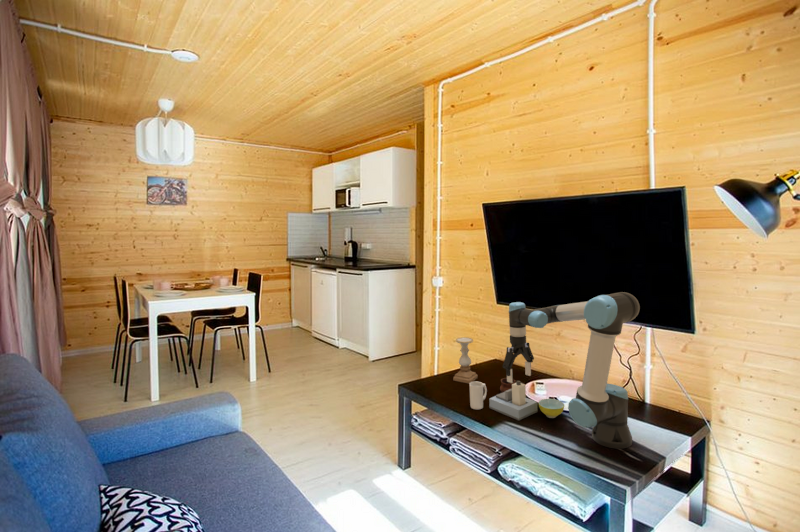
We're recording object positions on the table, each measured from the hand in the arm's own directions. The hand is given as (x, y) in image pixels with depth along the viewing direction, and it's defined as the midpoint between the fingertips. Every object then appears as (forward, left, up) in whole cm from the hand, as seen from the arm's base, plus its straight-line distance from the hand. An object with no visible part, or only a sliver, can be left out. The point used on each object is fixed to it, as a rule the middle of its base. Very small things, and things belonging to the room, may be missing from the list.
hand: (519, 378), depth 210 cm
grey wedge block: (+8, 0, -12) cm, 14 cm away
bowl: (-12, -8, -17) cm, 23 cm away
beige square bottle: (0, 0, -16) cm, 16 cm away
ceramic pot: (+20, -15, -18) cm, 31 cm away
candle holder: (+49, -12, -17) cm, 53 cm away
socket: (+4, 0, -17) cm, 17 cm away
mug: (+18, +9, -17) cm, 26 cm away
